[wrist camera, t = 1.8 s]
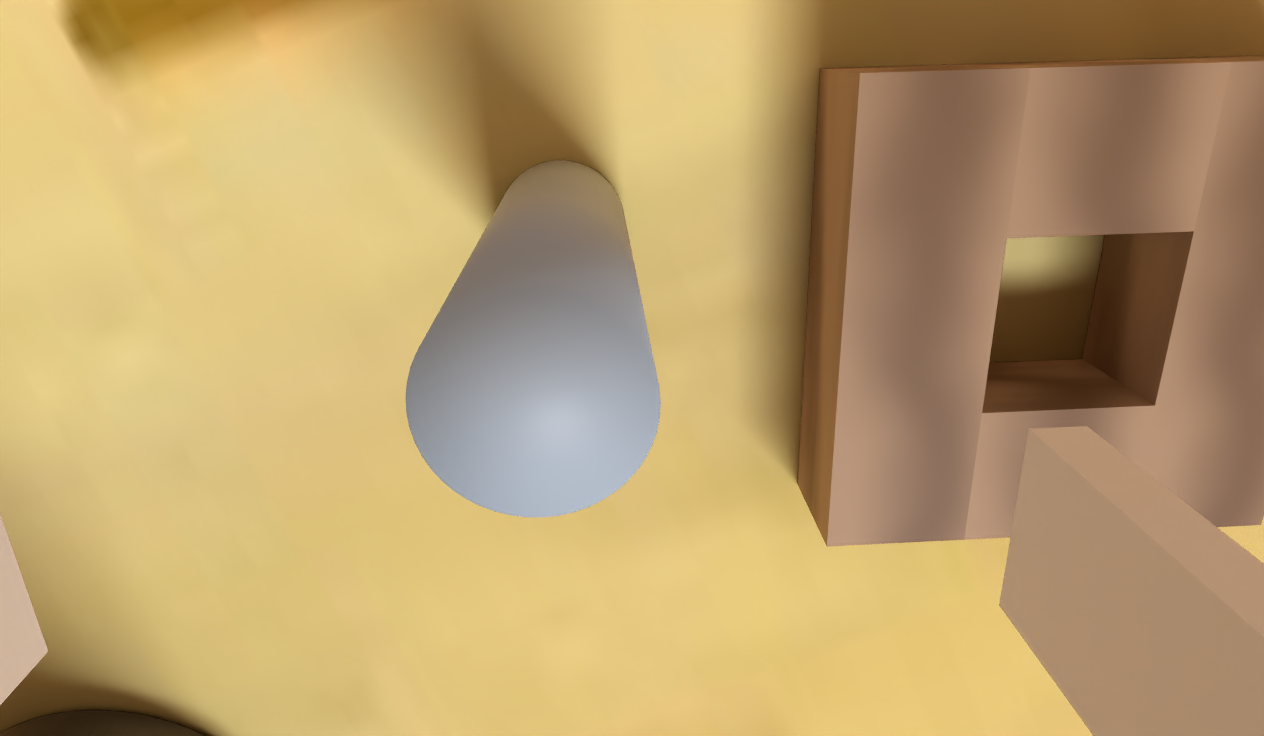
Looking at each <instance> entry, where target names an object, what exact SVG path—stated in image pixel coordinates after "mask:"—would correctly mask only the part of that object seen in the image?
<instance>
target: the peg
mask: <svg viewBox="0 0 1264 736" xmlns="http://www.w3.org/2000/svg"><path fill="white" fill-rule="evenodd" d="M660 403H661V402H660V391H659V384H658V379H657V374H656V369H655V364H654V359H653V354H652V349H651V344H650V339H649V334H648V330H647V325H646V320H645V315H644V310H643V305H642V300H641V295H640V290H639V285H638V280H637V275H636V270H635V265H634V260H633V256H632V251H631V246H630V241H629V236H628V231H627V226H626V221H625V216H624V212H623V207H622V204H621V201H620V199H619V197H618V195H617V193H616V191H615V190H614V188H613V187H612V185H611V184H610V183H609V182H608V181H607V180H606V179H605V178H604V177H603V176H602V175H601V174H599V173H598V172H597V171H595V170H593V169H592V168H590V167H588V166H586V165H583V164H580V163H577V162H572V161H565V160H556V161H548V162H544V163H540V164H538V165H535V166H533V167H531V168H529V169H528V170H526V171H525V172H523V173H522V174H521V175H519V176H518V177H517V178H516V179H515V180H514V181H513V183H512V184H511V185H510V187H509V188H508V190H507V191H506V193H505V195H504V197H503V198H502V200H501V202H500V204H499V206H498V207H497V209H496V211H495V213H494V215H493V216H492V218H491V220H490V222H489V224H488V225H487V227H486V229H485V231H484V232H483V234H482V236H481V238H480V240H479V241H478V243H477V245H476V247H475V249H474V250H473V252H472V254H471V256H470V258H469V259H468V261H467V263H466V265H465V266H464V268H463V270H462V272H461V274H460V275H459V277H458V279H457V281H456V283H455V284H454V286H453V288H452V290H451V292H450V293H449V295H448V297H447V299H446V300H445V302H444V304H443V306H442V308H441V309H440V311H439V313H438V315H437V317H436V318H435V320H434V322H433V324H432V326H431V327H430V329H429V331H428V333H427V334H426V336H425V338H424V340H423V342H422V343H421V345H420V347H419V349H418V351H417V352H416V355H415V357H414V360H413V362H412V365H411V367H410V372H409V376H408V380H407V388H406V411H407V417H408V422H409V427H410V430H411V433H412V436H413V439H414V441H415V444H416V446H417V447H418V449H419V451H420V453H421V455H422V457H423V458H424V460H425V461H426V462H427V464H428V465H429V467H430V468H431V469H432V470H433V472H434V473H435V474H436V475H437V476H438V477H439V478H440V479H441V480H442V481H443V482H444V483H445V484H446V485H448V486H449V487H450V488H451V489H452V490H454V491H455V492H457V493H458V494H460V495H461V496H463V497H464V498H466V499H467V500H469V501H471V502H473V503H475V504H477V505H479V506H482V507H484V508H487V509H490V510H493V511H495V512H499V513H504V514H508V515H513V516H521V517H550V516H559V515H564V514H568V513H573V512H576V511H579V510H581V509H584V508H587V507H590V506H592V505H594V504H596V503H598V502H600V501H602V500H603V499H605V498H606V497H608V496H610V495H611V494H613V493H614V492H615V491H617V490H618V489H619V488H620V487H621V486H623V485H624V484H625V483H626V482H627V481H628V480H629V479H630V478H631V477H632V476H633V475H634V473H635V472H636V471H637V470H638V468H639V467H640V466H641V464H642V463H643V461H644V460H645V458H646V456H647V454H648V452H649V450H650V448H651V447H652V444H653V441H654V438H655V435H656V433H657V428H658V423H659V418H660Z"/></svg>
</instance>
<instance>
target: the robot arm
mask: <svg viewBox="0 0 1264 736" xmlns="http://www.w3.org/2000/svg"><path fill="white" fill-rule="evenodd" d="M999 606H1000V607H1001V608H1002V610H1003V611H1004V612H1005V614H1006V615H1007V617H1008V618H1009V619H1010V621H1011V622H1012V624H1013V625H1014V626H1015V628H1016V629H1017V630H1018V632H1019V633H1020V635H1021V636H1022V637H1023V639H1024V640H1025V642H1026V643H1027V644H1028V646H1029V647H1030V649H1031V650H1032V651H1033V653H1034V654H1035V655H1036V657H1037V658H1038V660H1039V661H1040V662H1041V664H1042V665H1043V667H1044V668H1045V669H1046V671H1047V672H1048V673H1049V675H1050V676H1051V678H1052V679H1053V680H1054V682H1055V683H1056V685H1057V686H1058V687H1059V689H1060V690H1061V691H1062V693H1063V694H1064V696H1065V697H1066V698H1067V700H1068V701H1069V703H1070V704H1071V705H1072V707H1073V708H1074V709H1075V711H1076V712H1077V714H1078V715H1079V716H1080V718H1081V719H1082V721H1083V722H1084V723H1085V725H1086V726H1087V728H1088V729H1089V730H1090V732H1091V733H1092V734H1093V736H1264V563H1262V562H1261V561H1260V560H1258V559H1257V558H1256V557H1255V556H1253V555H1252V554H1251V553H1249V552H1248V551H1247V550H1246V549H1244V548H1243V547H1242V546H1240V545H1239V544H1238V543H1237V542H1235V541H1234V540H1233V539H1231V538H1230V537H1229V536H1228V535H1226V534H1225V533H1224V532H1222V531H1221V530H1220V529H1219V528H1217V527H1216V526H1215V525H1213V524H1212V523H1211V522H1210V521H1208V520H1207V519H1206V518H1204V517H1203V516H1202V515H1201V514H1199V513H1198V512H1197V511H1195V510H1194V509H1193V508H1192V507H1190V506H1189V505H1188V504H1186V503H1185V502H1184V501H1183V500H1181V499H1180V498H1179V497H1177V496H1176V495H1175V494H1174V493H1172V492H1171V491H1170V490H1168V489H1167V488H1166V487H1165V486H1163V485H1162V484H1161V483H1159V482H1158V481H1157V480H1156V479H1154V478H1153V477H1152V476H1150V475H1149V474H1148V473H1147V472H1145V471H1144V470H1143V469H1142V468H1140V467H1139V466H1138V465H1136V464H1135V463H1134V462H1133V461H1131V460H1130V459H1129V458H1127V457H1126V456H1125V455H1124V454H1122V453H1121V452H1120V451H1118V450H1117V449H1116V448H1115V447H1113V446H1112V445H1111V444H1109V443H1108V442H1107V441H1106V440H1104V439H1103V438H1102V437H1100V436H1099V435H1098V434H1097V433H1095V432H1094V431H1093V430H1091V429H1090V428H1089V427H1088V426H1080V427H1056V428H1031V429H1029V431H1028V437H1027V443H1026V449H1025V454H1024V460H1023V466H1022V472H1021V478H1020V484H1019V490H1018V496H1017V502H1016V508H1015V514H1014V520H1013V526H1012V532H1011V538H1010V544H1009V550H1008V556H1007V562H1006V568H1005V574H1004V580H1003V586H1002V592H1001V597H1000V603H999ZM47 652H48V649H47V646H46V643H45V641H44V638H43V635H42V632H41V629H40V626H39V623H38V621H37V618H36V615H35V612H34V609H33V606H32V603H31V601H30V598H29V595H28V592H27V589H26V586H25V583H24V581H23V578H22V575H21V572H20V569H19V566H18V563H17V561H16V558H15V555H14V552H13V549H12V546H11V543H10V540H9V538H8V535H7V532H6V529H5V526H4V523H3V520H2V518H1V515H0V705H1V704H2V703H3V702H4V701H5V699H6V698H7V697H8V696H9V695H10V694H11V693H12V692H13V690H14V689H15V688H16V687H17V686H18V685H19V684H20V683H21V681H22V680H23V679H24V678H25V677H26V676H27V675H28V674H29V672H30V671H31V670H32V669H33V668H34V667H35V666H36V665H37V663H38V662H39V661H40V660H41V659H42V658H43V657H44V656H45V654H46V653H47ZM0 736H204V735H202V734H200V733H198V732H195V731H193V730H191V729H188V728H186V727H183V726H180V725H178V724H175V723H172V722H168V721H165V720H162V719H158V718H154V717H150V716H145V715H140V714H134V713H127V712H118V711H102V710H88V711H72V712H64V713H57V714H52V715H47V716H43V717H39V718H36V719H32V720H29V721H26V722H24V723H21V724H18V725H16V726H14V727H12V728H9V729H8V730H6V731H4V732H2V733H0Z"/></svg>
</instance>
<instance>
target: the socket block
mask: <svg viewBox="0 0 1264 736" xmlns="http://www.w3.org/2000/svg"><path fill="white" fill-rule="evenodd" d="M1081 235H1105V238H1104V244H1103V249H1102V255H1101V260H1100V266H1099V271H1098V276H1097V282H1096V287H1095V293H1094V298H1093V304H1092V309H1091V314H1090V320H1089V325H1088V331H1087V336H1086V342H1085V347H1084V352H1083V358H1082V359H1068V360H1044V361H1020V362H997V363H989V360H990V353H991V346H992V339H993V332H994V325H995V317H996V310H997V303H998V296H999V289H1000V282H1001V275H1002V268H1003V260H1004V253H1005V246H1006V239H1007V238H1026V237H1053V236H1081ZM1080 426H1088V427H1089V428H1090V429H1091V430H1093V431H1094V432H1095V433H1097V434H1098V435H1099V436H1100V437H1102V438H1103V439H1104V440H1106V441H1107V442H1108V443H1109V444H1111V445H1112V446H1113V447H1115V448H1116V449H1117V450H1118V451H1120V452H1121V453H1122V454H1124V455H1125V456H1126V457H1127V458H1129V459H1130V460H1131V461H1133V462H1134V463H1135V464H1136V465H1138V466H1139V467H1140V468H1142V469H1143V470H1144V471H1145V472H1147V473H1148V474H1149V475H1150V476H1152V477H1153V478H1154V479H1156V480H1157V481H1158V482H1159V483H1161V484H1162V485H1163V486H1165V487H1166V488H1167V489H1168V490H1170V491H1171V492H1172V493H1174V494H1175V495H1176V496H1177V497H1179V498H1180V499H1181V500H1183V501H1184V502H1185V503H1186V504H1188V505H1189V506H1190V507H1192V508H1193V509H1194V510H1195V511H1197V512H1198V513H1199V514H1201V515H1202V516H1203V517H1204V518H1206V519H1207V520H1208V521H1210V522H1211V523H1212V524H1213V525H1215V526H1216V527H1227V526H1247V525H1261V523H1262V519H1263V516H1264V56H1232V57H1198V58H1164V59H1130V60H1095V61H1061V62H1027V63H993V64H959V65H925V66H890V67H856V68H822V69H820V75H819V94H818V113H817V131H816V150H815V169H814V188H813V206H812V225H811V244H810V263H809V281H808V300H807V319H806V338H805V356H804V375H803V394H802V413H801V431H800V450H799V469H798V486H799V488H800V490H801V492H802V495H803V497H804V499H805V501H806V503H807V505H808V507H809V509H810V511H811V514H812V516H813V518H814V520H815V522H816V524H817V526H818V528H819V531H820V533H821V535H822V537H823V539H824V541H825V543H826V545H827V546H844V545H864V544H884V543H904V542H924V541H944V540H965V539H985V538H1005V537H1011V532H1012V526H1013V520H1014V514H1015V508H1016V502H1017V496H1018V490H1019V484H1020V478H1021V472H1022V466H1023V460H1024V454H1025V449H1026V443H1027V437H1028V431H1029V429H1031V428H1056V427H1080Z"/></svg>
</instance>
